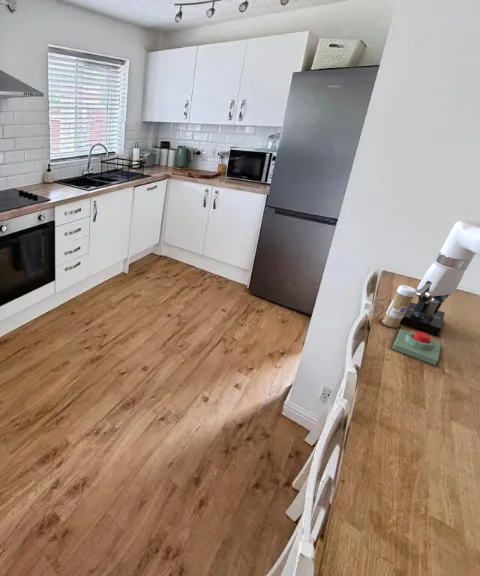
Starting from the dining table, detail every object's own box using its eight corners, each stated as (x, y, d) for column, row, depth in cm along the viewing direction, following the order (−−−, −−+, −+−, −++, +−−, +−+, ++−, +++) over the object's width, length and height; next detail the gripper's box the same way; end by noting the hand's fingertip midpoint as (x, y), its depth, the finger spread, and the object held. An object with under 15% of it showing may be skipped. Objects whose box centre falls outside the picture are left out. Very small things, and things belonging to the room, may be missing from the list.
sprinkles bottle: (390, 328, 118) (408, 291, 112) (378, 320, 122) (395, 284, 116) (402, 327, 119) (421, 291, 113) (389, 319, 123) (407, 284, 117)
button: (427, 345, 105) (430, 340, 105) (412, 339, 108) (414, 334, 107) (428, 339, 108) (431, 335, 107) (413, 334, 110) (416, 329, 109)
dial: (432, 314, 121) (440, 299, 119) (430, 318, 119) (439, 303, 116) (417, 309, 124) (425, 294, 121) (415, 313, 121) (423, 298, 119)
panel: (436, 336, 115) (441, 328, 114) (398, 323, 121) (402, 315, 120) (440, 320, 124) (445, 312, 123) (404, 308, 130) (408, 300, 129)
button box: (435, 365, 102) (441, 355, 101) (392, 349, 108) (397, 339, 107) (438, 347, 110) (444, 337, 108) (398, 333, 116) (403, 323, 114)
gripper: (459, 255, 118) (432, 304, 126) (419, 257, 114) (394, 308, 122) (486, 264, 111) (455, 315, 120) (444, 268, 107) (416, 320, 116)
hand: (424, 311), depth 121 cm, fingers closed on dial, 4 cm apart
